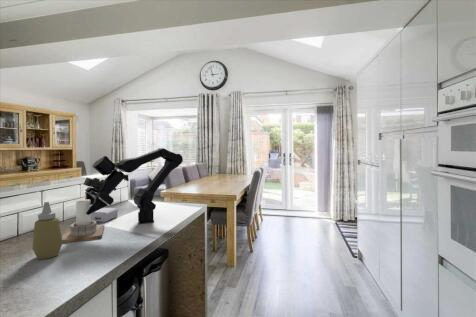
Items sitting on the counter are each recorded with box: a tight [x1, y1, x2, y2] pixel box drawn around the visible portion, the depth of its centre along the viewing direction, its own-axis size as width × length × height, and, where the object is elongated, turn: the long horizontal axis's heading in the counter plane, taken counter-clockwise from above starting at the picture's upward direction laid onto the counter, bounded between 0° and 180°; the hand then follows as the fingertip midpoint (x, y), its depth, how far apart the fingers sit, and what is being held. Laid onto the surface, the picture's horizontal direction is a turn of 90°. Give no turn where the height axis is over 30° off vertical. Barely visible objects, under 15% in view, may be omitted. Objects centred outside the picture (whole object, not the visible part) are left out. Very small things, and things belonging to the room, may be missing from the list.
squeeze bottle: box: [32, 201, 63, 260], centre depth 84 cm, size 8×8×18 cm
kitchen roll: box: [75, 198, 91, 226], centre depth 104 cm, size 5×5×13 cm
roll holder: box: [61, 220, 105, 244], centre depth 104 cm, size 14×14×5 cm
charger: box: [91, 207, 119, 223], centre depth 130 cm, size 5×9×15 cm
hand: (83, 212), depth 104 cm, fingers open, 9 cm apart
